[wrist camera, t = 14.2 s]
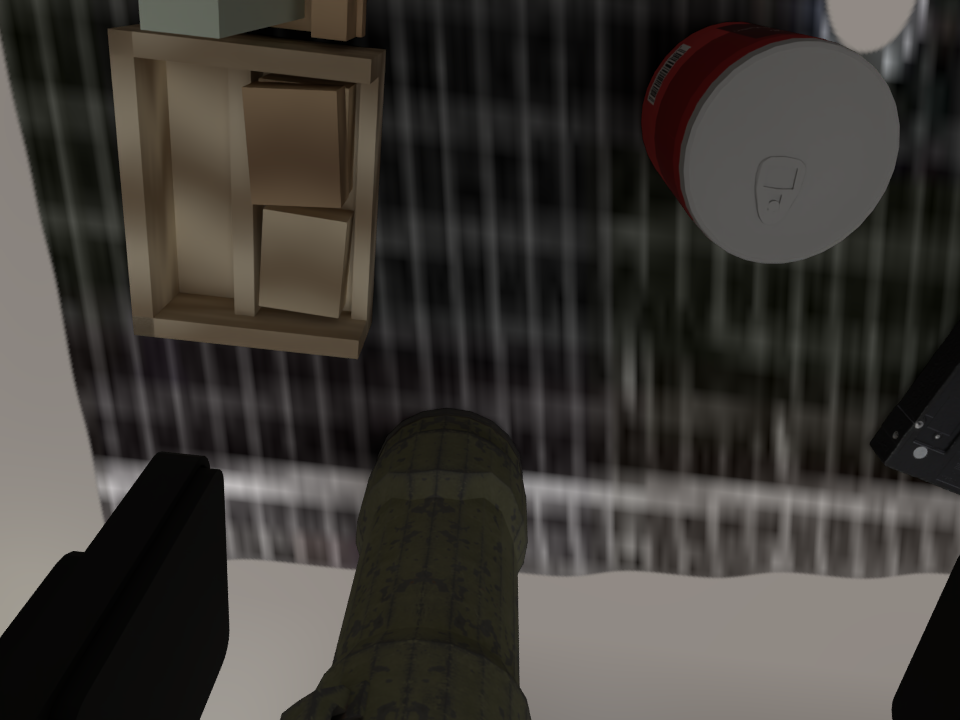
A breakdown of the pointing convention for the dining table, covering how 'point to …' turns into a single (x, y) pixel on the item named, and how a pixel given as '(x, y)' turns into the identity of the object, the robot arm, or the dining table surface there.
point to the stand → (331, 19)
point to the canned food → (770, 138)
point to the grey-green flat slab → (216, 16)
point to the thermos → (433, 581)
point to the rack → (228, 187)
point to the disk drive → (927, 422)
